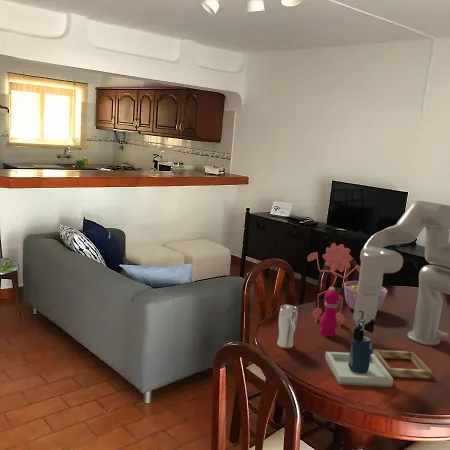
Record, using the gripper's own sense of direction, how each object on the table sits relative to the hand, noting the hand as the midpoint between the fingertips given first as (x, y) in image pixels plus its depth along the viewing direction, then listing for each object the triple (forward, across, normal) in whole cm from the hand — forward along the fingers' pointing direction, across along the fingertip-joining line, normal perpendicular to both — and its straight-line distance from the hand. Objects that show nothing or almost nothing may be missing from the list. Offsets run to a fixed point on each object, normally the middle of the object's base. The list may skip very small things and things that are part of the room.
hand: (363, 335), depth 165 cm
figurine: (+15, -37, -28) cm, 49 cm away
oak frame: (+14, -15, +10) cm, 23 cm away
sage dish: (+13, +1, 0) cm, 13 cm away
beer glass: (+14, +1, -29) cm, 32 cm away
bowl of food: (+15, -61, -22) cm, 67 cm away
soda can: (+13, +1, 0) cm, 13 cm away
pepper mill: (+14, -22, -22) cm, 35 cm away
